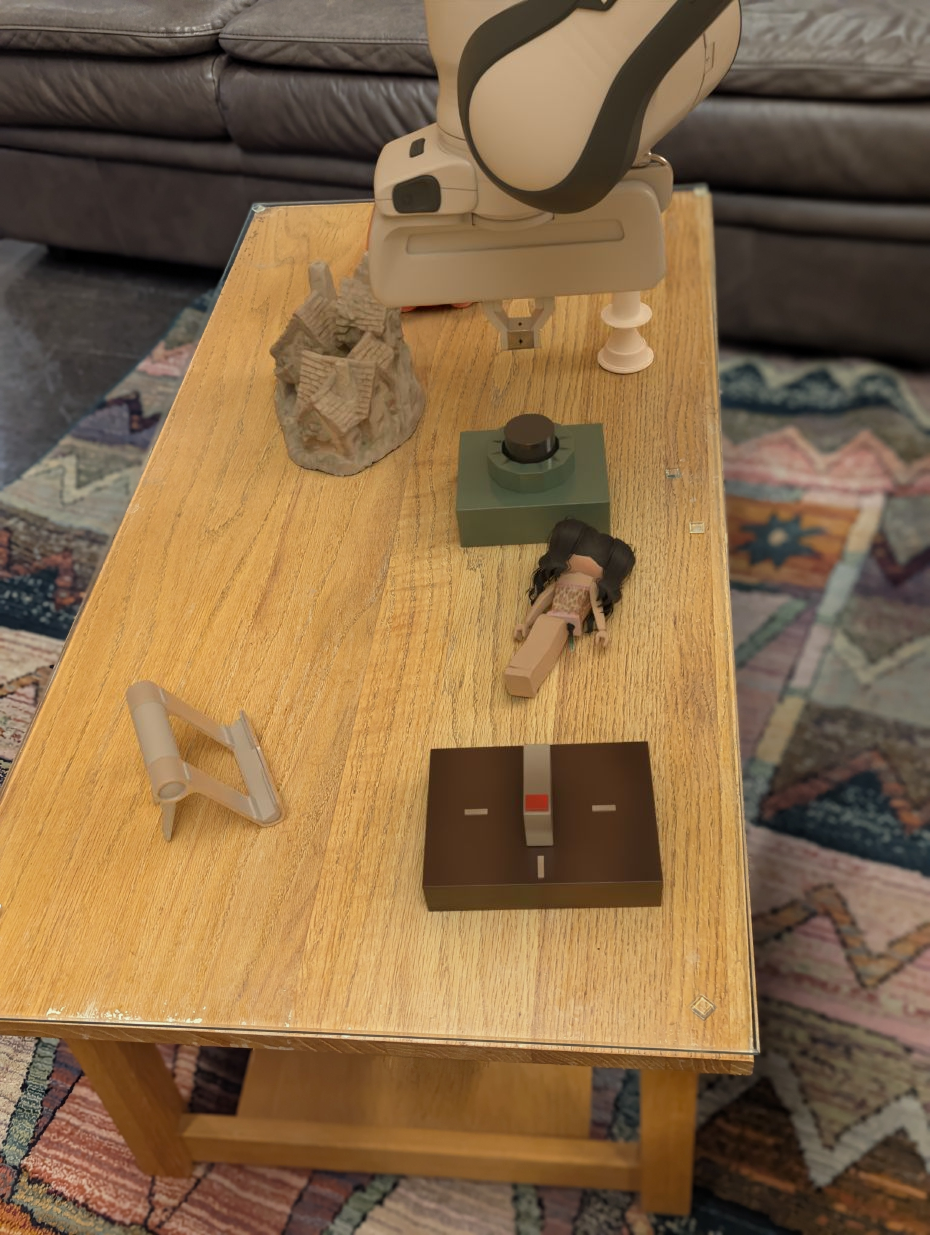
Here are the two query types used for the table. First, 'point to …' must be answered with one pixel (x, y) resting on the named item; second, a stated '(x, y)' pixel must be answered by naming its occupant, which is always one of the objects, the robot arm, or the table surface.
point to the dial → (537, 795)
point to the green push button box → (530, 487)
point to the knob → (529, 438)
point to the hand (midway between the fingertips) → (521, 345)
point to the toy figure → (568, 599)
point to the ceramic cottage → (344, 376)
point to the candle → (625, 334)
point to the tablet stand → (182, 779)
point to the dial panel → (582, 830)
